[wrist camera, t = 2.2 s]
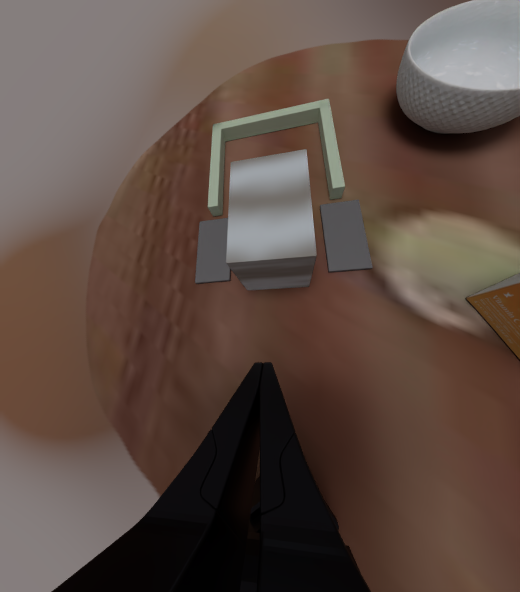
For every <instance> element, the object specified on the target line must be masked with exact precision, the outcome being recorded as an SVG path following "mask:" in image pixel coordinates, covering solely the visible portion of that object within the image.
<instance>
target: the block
mask: <svg viewBox="0 0 520 592" xmlns="http://www.w3.org/2000/svg"><path fill="white" fill-rule="evenodd" d="M316 256H317V255H316V245H315V234H314V224H313V213H312V203H311V192H310V182H309V171H308V161H307V151H306V149H305V150H299V151H293V152H287V153H281V154H276V155H270V156H264V157H258V158H252V159H247V160H241V161H235V162H231V172H230V192H229V213H228V233H227V254H226V264H227V265H228V266H229V267H230V269H231V270H232V271H233V273H234V274H235V275H236V276H237V278H238V279H239V280H240V281H241V283H242V284H243V285H244V287H245V288H246V289H247V290H260V289H278V288H296V287H309V284H310V280H311V276H312V272H313V268H314V264H315V260H316Z"/></svg>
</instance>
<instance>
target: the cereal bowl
mask: <svg viewBox="0 0 520 592" xmlns="http://www.w3.org/2000/svg"><path fill="white" fill-rule="evenodd" d="M396 88H397V90H396V93H397V98H398V102H399V104H400V107H401V108H402V111H403V112H404V113H405V115H406V116H407V117H408V118H410V120H412V121H413V122H414V123H416V124H418V125H420V126H421V127H423V128H424V129H426V130H429V131H432V132H436V133H444V134H447V133H458V134H459V133H472V132H476V131H482V130H487V129H489V128H493V127H496V126H498V125H501V124H504V123H506V122H509V121H511V120H512V119H514V118H516V117H518V116H520V0H473V1H469V2H466V3H462V4H459V5H456V6H453V7H451V8H448V9H446V10H444V11H441V12H439V13H437V14H436V15H434V16H432V17H431V18H429V19H428V20H426V21H425V22H423V23H422V24H421V25H420V26H419V27H418V28H417V29H416V30H415V31H414V33H413V34H412V36H411V37H410V39H409V41H408V44H407V46H406V49H405V52H404V55H403V57H402V61H401V64H400V68H399V71H398V77H397V84H396Z"/></svg>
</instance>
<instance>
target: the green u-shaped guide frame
mask: <svg viewBox="0 0 520 592" xmlns="http://www.w3.org/2000/svg"><path fill="white" fill-rule="evenodd" d="M317 122H318V124H319V131H320V137H321V144H322V150H323V157H324V163H325V170H326V176H327V183H328V189H329V196H330V200H331V199H338V198H341V197H342V194H343V191H344V188H345V184H344V179H343V173H342V168H341V162H340V157H339V151H338V146H337V141H336V135H335V130H334V124H333V119H332V113H331V108H330V103H329V99H325V100H321V101H316V102H312V103H307V104H303V105H298V106H294V107H289V108H285V109H280V110H276V111H272V112H267V113H263V114H258V115H254V116H249V117H245V118H240V119H236V120H231V121H227V122H222V123H218V124H213V133H212V149H211V165H210V180H209V196H208V208H209V210H210V212H211V213H212V215H213V216H219V215H223V188H224V161H225V141H230V140H235V139H240V138H245V137H250V136H255V135H259V134H264V133H269V132H274V131H279V130H284V129H288V128H293V127H298V126H303V125H308V124H313V123H317ZM320 211H321V219H322V226H323V234H324V241H325V249H326V256H327V264H328V271H329V272H341V271H353V270H365V269H372V263H371V258H370V253H369V248H368V244H367V239H366V234H365V229H364V224H363V219H362V214H361V209H360V204H359V200H353V201H346V202H338V203H331V204H324V205H320ZM227 233H228V218H224V219H217V220H209V221H202V222H200V225H199V239H198V252H197V265H196V278H195V283H196V284H199V283H211V282H223V281H230V274H231V269H230V267H229V266H228V265H227V264H226V254H227Z"/></svg>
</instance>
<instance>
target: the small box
mask: <svg viewBox="0 0 520 592" xmlns="http://www.w3.org/2000/svg"><path fill="white" fill-rule="evenodd" d="M467 300H468V301H469V302H470V303H471V304H472V305H473V306H474V307H475V308H476V309H477V310H478V312H479V313H480V314H481V315H482V316H483V317H484V318H485V320H486V321H487V322H488V323H489V324H490V325H491V326H492V328H493V329H494V330H495V331H496V332H497V333H498V334H499V336H500V337H501V338H502V339H503V340H504V342H505V343H506V344H507V345H508V346H509V347H510V349H511V350H512V351H513V352H514V353H515V354H516V356H517V357H518V358H519V359H520V273H518V274H516V275H514V276H512V277H510V278H508V279H506V280H503V281H501V282H499V283H497V284H495V285H493V286H490V287H488V288H486V289H484V290H482V291H479V292H477V293H475V294H473V295H471V296H469V297H467Z"/></svg>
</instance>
